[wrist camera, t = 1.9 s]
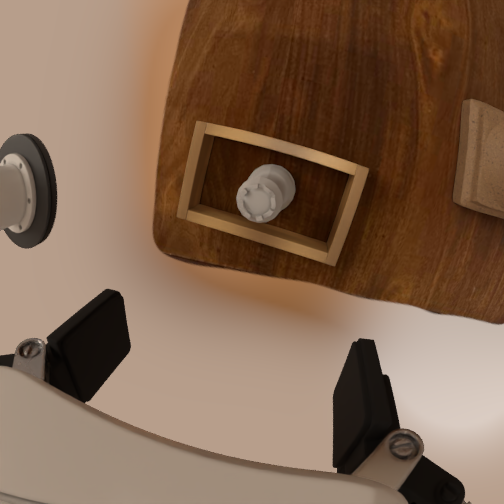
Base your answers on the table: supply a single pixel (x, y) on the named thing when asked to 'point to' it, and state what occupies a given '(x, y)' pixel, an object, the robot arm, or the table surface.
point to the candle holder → (480, 159)
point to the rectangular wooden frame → (263, 231)
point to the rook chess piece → (265, 193)
